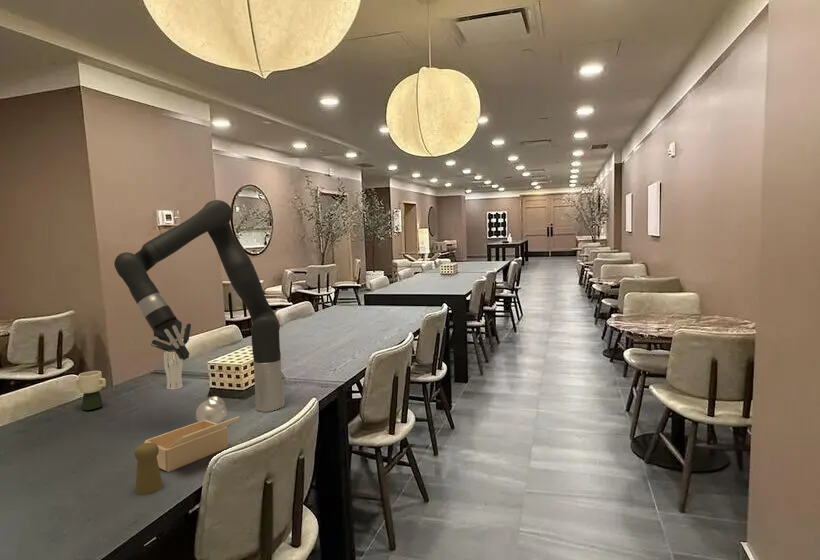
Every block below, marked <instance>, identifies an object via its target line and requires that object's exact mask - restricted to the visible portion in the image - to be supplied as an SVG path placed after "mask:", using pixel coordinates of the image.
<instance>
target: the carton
mask: <svg viewBox="0 0 820 560" xmlns="http://www.w3.org/2000/svg"><path fill="white" fill-rule="evenodd" d="M213 425H216V423H213V422H210V421H207V420H203V421H200V422H198V421H197V422H194V423H192V424H191V423H190V424H188V425H186V426H182V427H180V428H177V429H173V430H171V431H168V432H165V433H162V434H160V435H157V436H154V437H150V438H148V439H146V440H144V442H143V444H145V443H155V444H157V446H158V448H159V452H158V455H157V461H158V465H159V470H163V471H165V472H167V473H170V472H173V471H176V470H177V469H180V468H182V467H185V466H187V465H190V464H191V463H195V462H196V461H199V460H202V459H204V458H206V457H209V456H211V455H213V454H215V453H219V452H220V451H224V450H226V449H228V448H229V439H228V437H229V436H228V426H227V427H225V428H222V429H219V430H217V431H214V432H211V433H209V434H206V435H203V436H201V437H198V438H195V439H193V440H190V441H187V442H185V443H182V444H180V445H177V446H174V447H172V448H169V447H170V446H171V445H172V444H174V443H175V442H176V441H177V440H179V439H180V438H181V437H183V436H185V435H188V434H191V433H194V432H196V431H199V430H202V429H205V428H207V427H210V426H213Z"/></svg>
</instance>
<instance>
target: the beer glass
mask: <svg viewBox="0 0 820 560" xmlns="http://www.w3.org/2000/svg"><path fill="white" fill-rule="evenodd" d="M183 363H184V360H183V359H180V358H179V357H178V355H177V354H176V352H175V351H170V352H167V351H165V350H164V351H163V367H164V371H165V375H166V381H167V382H166V390H169V389H170V391H171V390H173V391H174V390H178V389H182V388H184V384H183V380H182V375H183V365H184V364H183Z"/></svg>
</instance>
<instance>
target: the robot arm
mask: <svg viewBox="0 0 820 560" xmlns="http://www.w3.org/2000/svg"><path fill="white" fill-rule="evenodd" d="M232 217H233V211H232V208H231V206H230V205H229V204H228V203H227V202H225V201H223V200H219V199H215V200H210V201H208V202H207V203H206V204H205V205H204V206H203V207H202V208H201V209H200V210H199V211H198V212H196V213H195V214H194V215H192V216H191V217H189V218H188V219H186V220H185V221H183V222H181V223H179V224H178V225H175V226H174V227H173V228H172V227H171V228H170V229H168V230H166V231H164V232H163V233H160V234H158V235H157V236H155V237H154V238H152V239H150V240H148V241H147V242H145V243H144V244H142V246H141V249H140V250H139V251H137V252H136V253H132V252H129V251H128V252H121V253H120V254H118V255H117V256H116V257H115V259H114V262H113V263H114V265H113V266H114V269H115V270H116V273H117V275H118V276H119V277H120V278H121V279H122V280H123V281H124V283H125V285H126V286H127V287H128V290H129V293H130V294H131V296H132V298H133V300H134V301H135V303H136V304H137V306H138V308H139V311H140V313H141V314H142V317H143V318H145V321H146V322H147V324H148V325H149V327H150V328H151V330H152V332H153V336H154V338H153V340H152V341H151V342H150V345H151V347H153V348H157V349H159V350H162V351H164V352H165V351H167V352H170V351H175V352H176V354H177V355H178V357H179V358H180V359H183V361H185V360H186V361H187V360H188V359H189V358H190V351H189V350H188V348H187V347H186V344H187V343H188V342H189V339H190V334H191V328H192V324H191V323H182V321H181V320H179V319H178V318H177V316H176V315H175V313H174V312H173V310H172V308H171V307H170V305H169V304H168V302H167V301H166V299H165V298H164V296H163V295H162V293H160V291H159V289H158V288H157V286H156V285H155V283H154V282H153V280H152V279H151V278H150V276H149V274H148V271H150V270H151V269H152V268H153V267H154V266H156V265H157V264H158V263H159V262H161V261H163V260H164V259H166V258H168V257H170V256H171V255H173V254H175V253H176V252H178V251H179V250H180V249H182V248H184V247H185V246H186V245H188V244H189V243H190V242H192V241H193V240H195V239H196V238H197V239H198V237H200V236H201V235H204V234H206V233H208V235H209V237H210V238H211V240H212V242H213V244H214V246H215V248H216V250H217V254H218V256H219V259H220V261H221V262H220V263H221V264H222V267H223V268H224V271H225V273H226V276H227V278H228V280H229V283H230V285H231V286H232V288H233V290H234V291H235V292H236V294H237V296H238V297H239V298H240V299H241V301H242V303H244V305H245V306H246V308H247V309H246V310H247V311H248V314H249V316H250V319H251V323H252V325H251V330H250V332H251V336H250V337H251V348H252V349H251V350H252V357H253V373H254V374H253V375H254V390H255V391H254V393H255V394H254V395H255V398H254V399H255V410H256V411H258V412H263V413H266V412H274V410H275V411H278V410H280V409H282V408H284V407H283V406H285V407H286V405H285V404H286V401H285V398H286V397H285V381H284V380H283V379H282V378H283V377H282V357H281V354H282V353H281V348H280V347H281V343H280V329H281V323H280V321H279V319H278V317H277V316H276V314H275V312H274V311H273V309H272V307H271V305H270V303H269V301H268V300H267V298H266V295H265V292H264V289H263V285H262V283H261V281H260V278H259V276H258V274H257V271H256V269H255V266H254V264H253V262H252V259H251V258H250V257H249V255H248V254H247V252H246V251H245V249H244V248H243V247H242V246H241V244H240V243H239V242H238V239H237V238H236V236H235V233H234V232H233V230H232V226H231V223H230V221H231V220H232ZM182 331H183V332H184V333H183V336H181V334H182ZM182 337H183V339H182ZM161 341H164V342H166V343H164V342H161ZM281 407H282V408H281ZM279 408H280V409H279ZM277 409H278V410H277Z"/></svg>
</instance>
